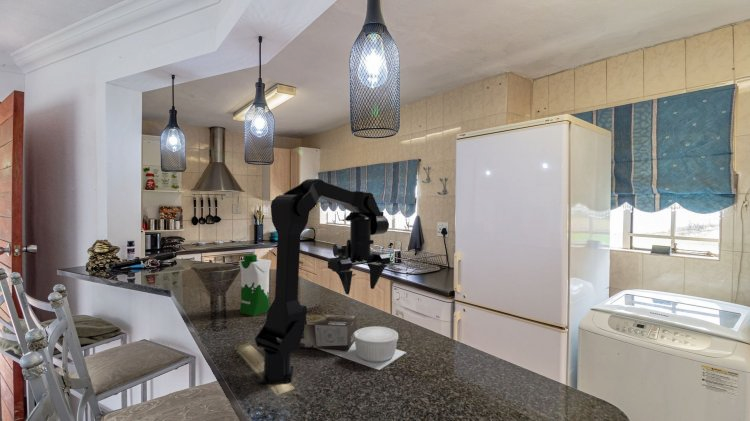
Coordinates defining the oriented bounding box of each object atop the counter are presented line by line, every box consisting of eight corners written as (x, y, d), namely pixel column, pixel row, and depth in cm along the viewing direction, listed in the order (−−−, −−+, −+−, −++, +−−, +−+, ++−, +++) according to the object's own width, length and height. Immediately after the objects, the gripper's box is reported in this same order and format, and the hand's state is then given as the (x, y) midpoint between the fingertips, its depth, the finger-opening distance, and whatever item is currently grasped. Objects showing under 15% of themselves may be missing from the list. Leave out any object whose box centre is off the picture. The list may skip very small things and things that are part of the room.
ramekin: (355, 344, 95) (355, 325, 94) (397, 345, 94) (397, 326, 94) (351, 363, 83) (351, 341, 83) (398, 365, 83) (399, 342, 83)
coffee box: (289, 347, 93) (348, 351, 90) (288, 322, 93) (347, 326, 90) (303, 334, 102) (357, 338, 99) (303, 312, 102) (357, 315, 99)
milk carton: (236, 313, 121) (236, 254, 121) (257, 306, 129) (257, 251, 129) (252, 317, 117) (253, 257, 116) (274, 310, 124) (274, 254, 124)
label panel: (406, 352, 91) (406, 351, 91) (379, 370, 81) (379, 369, 81) (341, 333, 103) (341, 332, 103) (311, 346, 94) (311, 345, 94)
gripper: (366, 232, 112) (366, 281, 112) (316, 236, 100) (316, 291, 100) (391, 235, 104) (391, 288, 104) (340, 239, 91) (340, 299, 92)
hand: (360, 291), depth 100 cm, fingers open, 9 cm apart
